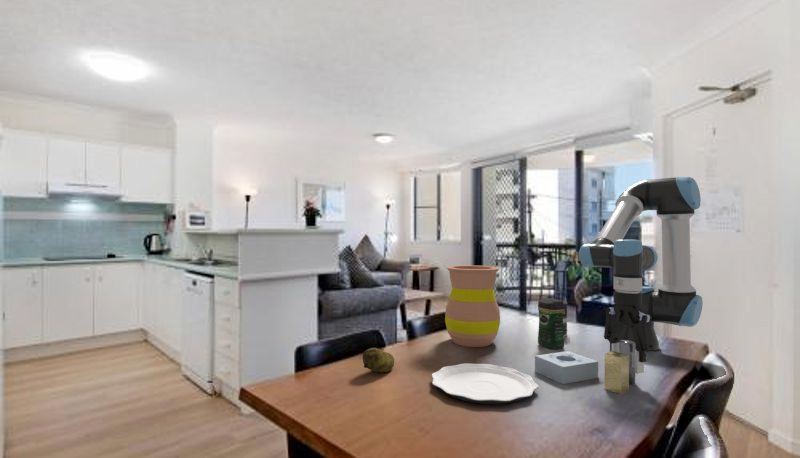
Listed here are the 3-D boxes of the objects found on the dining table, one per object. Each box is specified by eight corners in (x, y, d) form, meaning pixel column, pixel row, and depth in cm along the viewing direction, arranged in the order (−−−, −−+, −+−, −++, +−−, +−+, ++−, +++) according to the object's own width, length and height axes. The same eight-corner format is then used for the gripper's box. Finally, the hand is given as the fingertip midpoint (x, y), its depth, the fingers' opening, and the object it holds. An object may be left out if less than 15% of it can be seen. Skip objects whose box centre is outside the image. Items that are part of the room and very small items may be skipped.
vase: (506, 349, 158) (506, 270, 158) (447, 349, 158) (448, 269, 158) (493, 335, 180) (494, 265, 180) (442, 334, 180) (442, 265, 180)
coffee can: (569, 337, 177) (570, 304, 177) (544, 336, 179) (544, 303, 179) (564, 331, 187) (564, 300, 187) (540, 330, 189) (540, 299, 189)
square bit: (612, 385, 122) (612, 351, 122) (628, 390, 118) (628, 354, 118) (604, 389, 119) (604, 353, 119) (621, 394, 115) (621, 357, 115)
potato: (404, 371, 133) (404, 346, 133) (369, 379, 125) (370, 353, 125) (388, 364, 139) (389, 340, 139) (355, 372, 132) (355, 346, 132)
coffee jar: (568, 348, 160) (568, 299, 160) (552, 350, 157) (552, 301, 157) (549, 342, 169) (549, 296, 169) (534, 344, 166) (534, 297, 166)
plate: (473, 418, 100) (473, 408, 100) (413, 379, 126) (413, 371, 126) (560, 396, 114) (560, 388, 114) (489, 365, 140) (490, 358, 140)
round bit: (626, 379, 127) (626, 339, 127) (638, 383, 123) (638, 342, 123) (616, 380, 126) (616, 340, 126) (628, 385, 122) (628, 344, 122)
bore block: (568, 366, 139) (568, 351, 139) (598, 377, 128) (598, 361, 128) (534, 371, 134) (534, 355, 134) (563, 384, 123) (563, 366, 123)
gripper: (590, 287, 132) (590, 360, 132) (650, 297, 114) (650, 381, 114) (608, 286, 135) (607, 357, 135) (669, 295, 117) (668, 377, 117)
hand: (627, 368), depth 124 cm, fingers open, 7 cm apart
